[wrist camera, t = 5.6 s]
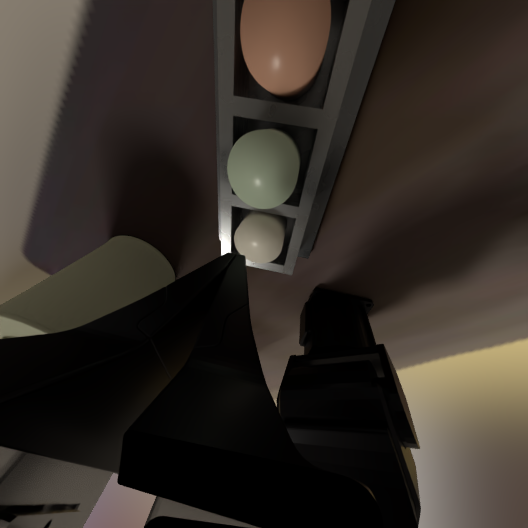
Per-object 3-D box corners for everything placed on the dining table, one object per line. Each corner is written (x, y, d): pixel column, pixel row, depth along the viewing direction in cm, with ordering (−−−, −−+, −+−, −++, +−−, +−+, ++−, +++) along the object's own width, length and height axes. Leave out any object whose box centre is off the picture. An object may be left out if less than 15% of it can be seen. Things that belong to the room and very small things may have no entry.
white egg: (291, 207, 15) (286, 225, 12) (282, 244, 17) (277, 267, 15) (247, 199, 15) (234, 215, 13) (245, 236, 18) (233, 257, 15)
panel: (397, -14, 9) (440, -81, 6) (308, 254, 19) (308, 278, 16) (217, -32, 10) (177, -100, 7) (221, 236, 19) (206, 256, 16)
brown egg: (334, 6, 9) (346, -45, 6) (313, 104, 11) (315, 98, 8) (262, -1, 9) (242, -54, 7) (255, 95, 11) (238, 86, 9)
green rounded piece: (307, 133, 11) (306, 136, 8) (293, 195, 13) (289, 214, 10) (247, 123, 11) (227, 123, 8) (244, 186, 13) (227, 202, 11)
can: (93, 230, 22) (-65, 309, 13) (163, 239, 21) (46, 333, 12) (125, 286, 28) (32, 370, 18) (182, 296, 27) (114, 391, 17)
